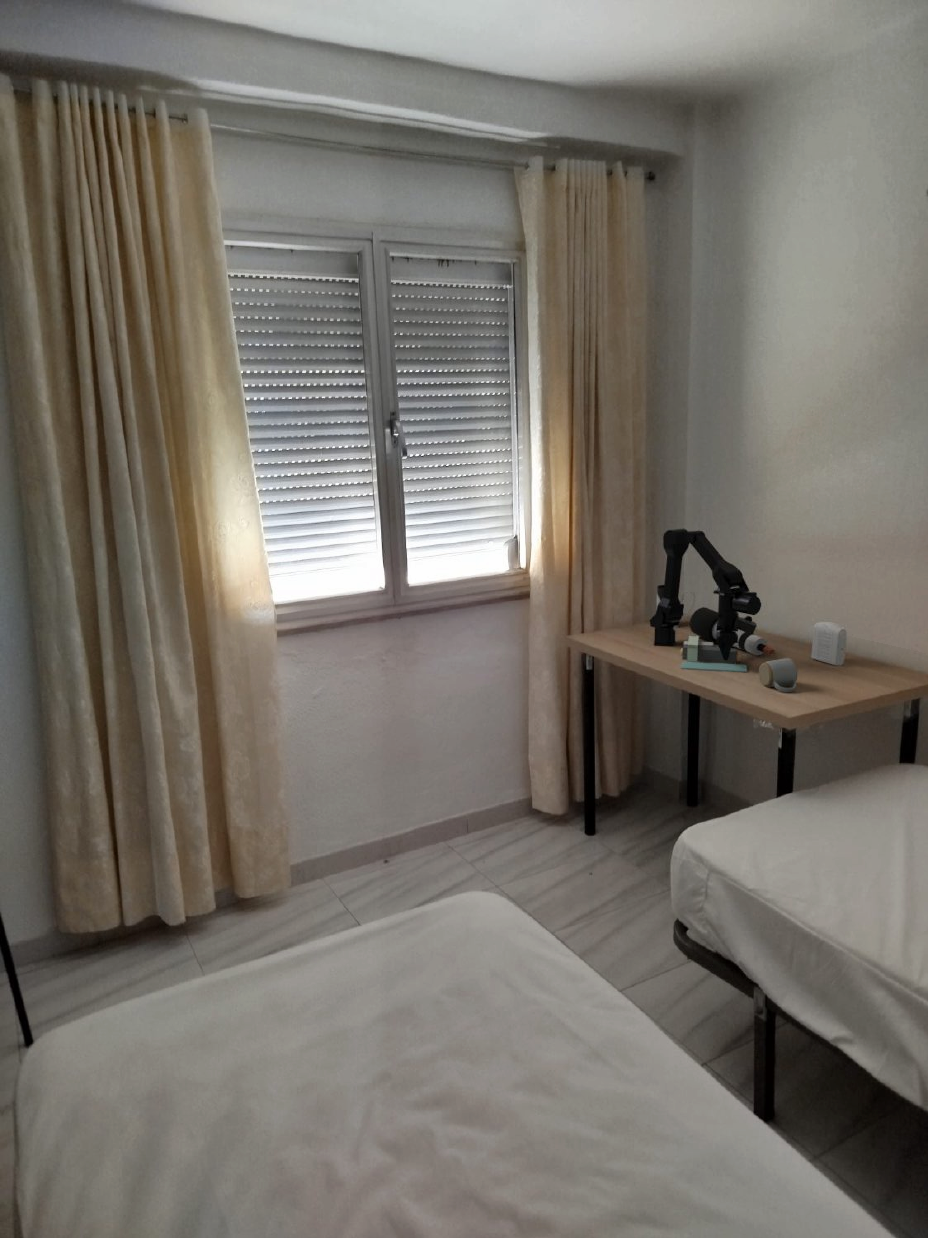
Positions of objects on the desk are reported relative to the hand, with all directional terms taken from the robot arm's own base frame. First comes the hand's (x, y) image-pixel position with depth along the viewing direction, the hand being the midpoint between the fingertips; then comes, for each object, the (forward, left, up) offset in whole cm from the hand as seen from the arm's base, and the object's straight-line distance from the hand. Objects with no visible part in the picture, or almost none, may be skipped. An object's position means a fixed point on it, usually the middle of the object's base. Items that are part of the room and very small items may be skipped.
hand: (725, 658), depth 249 cm
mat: (-4, -7, -1) cm, 8 cm away
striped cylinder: (+3, +19, -1) cm, 19 cm away
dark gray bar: (-5, +1, -1) cm, 5 cm away
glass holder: (-18, +46, -1) cm, 49 cm away
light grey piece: (-10, +3, -1) cm, 10 cm away
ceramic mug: (+14, -24, -1) cm, 28 cm away
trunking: (-9, +6, -1) cm, 10 cm away
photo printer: (+30, +6, -1) cm, 31 cm away
